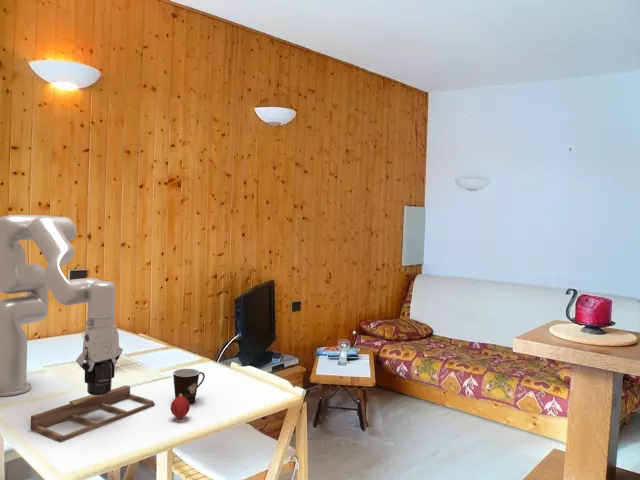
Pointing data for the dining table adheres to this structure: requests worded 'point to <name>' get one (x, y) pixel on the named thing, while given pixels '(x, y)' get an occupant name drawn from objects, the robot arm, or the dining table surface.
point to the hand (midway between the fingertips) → (99, 379)
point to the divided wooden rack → (83, 407)
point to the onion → (180, 406)
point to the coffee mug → (187, 383)
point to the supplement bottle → (101, 378)
